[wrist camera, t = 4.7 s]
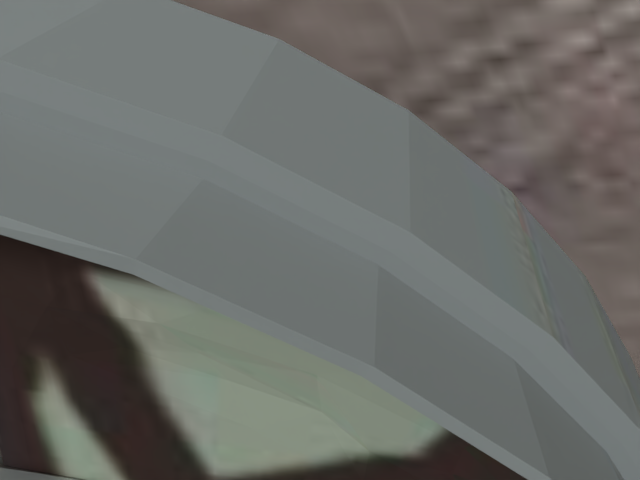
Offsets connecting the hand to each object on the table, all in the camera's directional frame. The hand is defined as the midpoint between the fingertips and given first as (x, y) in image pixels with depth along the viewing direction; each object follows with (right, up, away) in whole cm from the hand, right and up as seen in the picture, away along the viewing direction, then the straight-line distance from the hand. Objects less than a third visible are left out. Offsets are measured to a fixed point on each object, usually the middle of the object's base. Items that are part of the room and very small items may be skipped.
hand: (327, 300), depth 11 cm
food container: (+1, +1, +2) cm, 2 cm away
